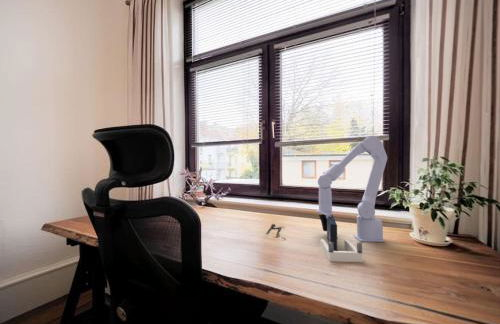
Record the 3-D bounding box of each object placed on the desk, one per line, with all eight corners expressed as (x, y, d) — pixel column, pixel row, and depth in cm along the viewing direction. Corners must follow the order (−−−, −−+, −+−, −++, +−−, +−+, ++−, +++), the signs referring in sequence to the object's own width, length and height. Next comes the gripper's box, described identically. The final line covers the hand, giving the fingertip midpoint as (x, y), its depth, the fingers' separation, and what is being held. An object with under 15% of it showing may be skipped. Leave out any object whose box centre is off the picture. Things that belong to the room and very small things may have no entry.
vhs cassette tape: (337, 251, 85) (337, 224, 85) (329, 250, 86) (328, 224, 86) (333, 237, 102) (333, 214, 103) (326, 236, 103) (326, 214, 103)
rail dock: (348, 246, 90) (348, 230, 90) (363, 262, 75) (362, 243, 75) (320, 245, 91) (319, 230, 92) (329, 261, 76) (328, 243, 76)
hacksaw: (271, 226, 124) (271, 223, 124) (290, 227, 121) (290, 224, 121) (261, 240, 101) (261, 236, 101) (285, 241, 98) (285, 238, 98)
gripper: (313, 199, 114) (314, 226, 113) (319, 203, 99) (319, 235, 99) (328, 199, 113) (329, 226, 112) (336, 203, 98) (336, 235, 98)
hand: (325, 230), depth 106 cm, fingers closed
